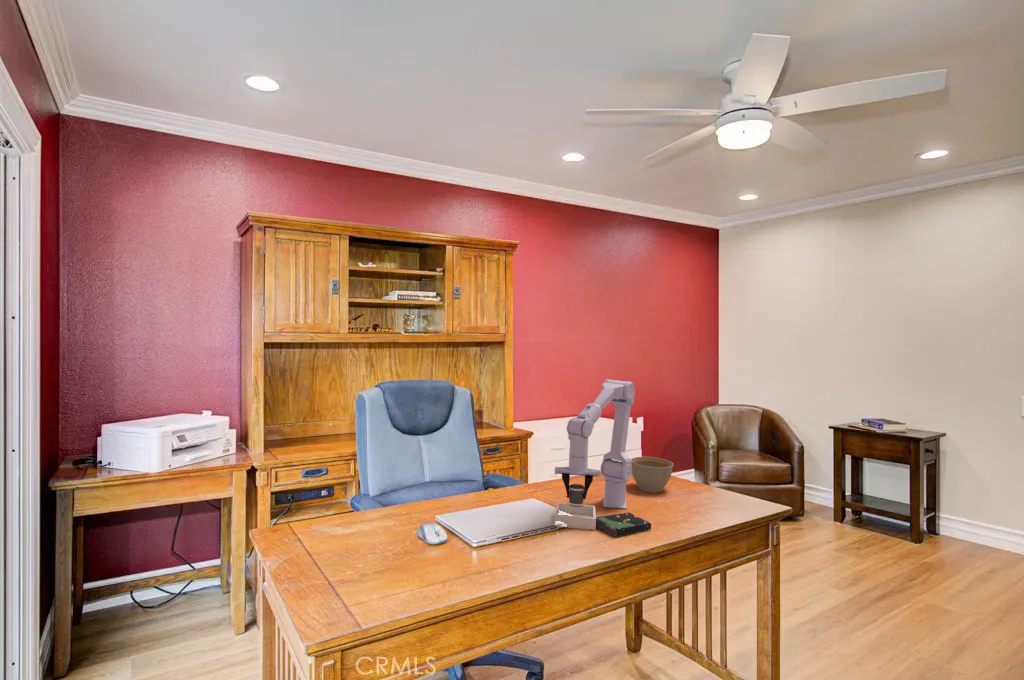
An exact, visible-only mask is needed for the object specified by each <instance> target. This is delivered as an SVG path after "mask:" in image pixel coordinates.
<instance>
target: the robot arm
mask: <svg viewBox="0 0 1024 680" xmlns="http://www.w3.org/2000/svg"><path fill="white" fill-rule="evenodd" d="M635 394H636V388H635V385H634V384H633V382H632V381H625V380H616V379H611V378H607V379H605V381H604V382H603V383H602V384H601V392H600V393H599V394H598V395H597V397H596V399H594V401H593V403H591V402H589V403H587V404H586V406H585V407H584V408H583V409H582V410H581V411H580V412H579V414H578V415H577V416H576V417H575V416H574V417H572V418H570V419H569V420H568V421H567V426H566V432H567V434H568V435H567V436H568V440H569V451H568V452H569V453H568V454H569V455H568V456H569V457H568V466H555V467H554V475H561V480H562V482H563V484H564V487H565V492H566V498H567V499H569V497H570V489H569V486H570V478H571V476H580V477H581V476H582V477H584V485H583V486H584V494H583V500H586V499H587V494H588V491H589V489H590V486H591V485H592V482H593V480H594V478H599V479H600V478H601V475H602V476H603V479H605V483H604V497H602V504H603V505H602V506H603V507H604V508H610V509H623V510H624V509H626V510H627V509H628V506H627V501H626V495H627V494H626V493H627V492H626V491H627V482H628V481H629V480H630V479H631V477H632V476H633V475H632V460H631V459H632V458H631V457H630V456H629V455H628V454H627V453H626V448H627V439H628V431H629V424H630V415H631V408H632V406H634V402H635ZM609 403H612V404H613V405H614V407H615V409H614V410H615V412H614V416H613V418H614V419H613V427H612V435H611V442H610V443H611V444H610V450H609V452H606V453H605V454H604V455H603V458H602V462H601V465H600V469H593V468H589V467H588V448H589V437H590V436H591V435H592V432H593V429H594V427H595V424H596V423H597V422H598V420H599V419H600V418H601V416H602V410H603V409H604V408H605V407H606V406H607V405H608V404H609Z"/></svg>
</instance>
